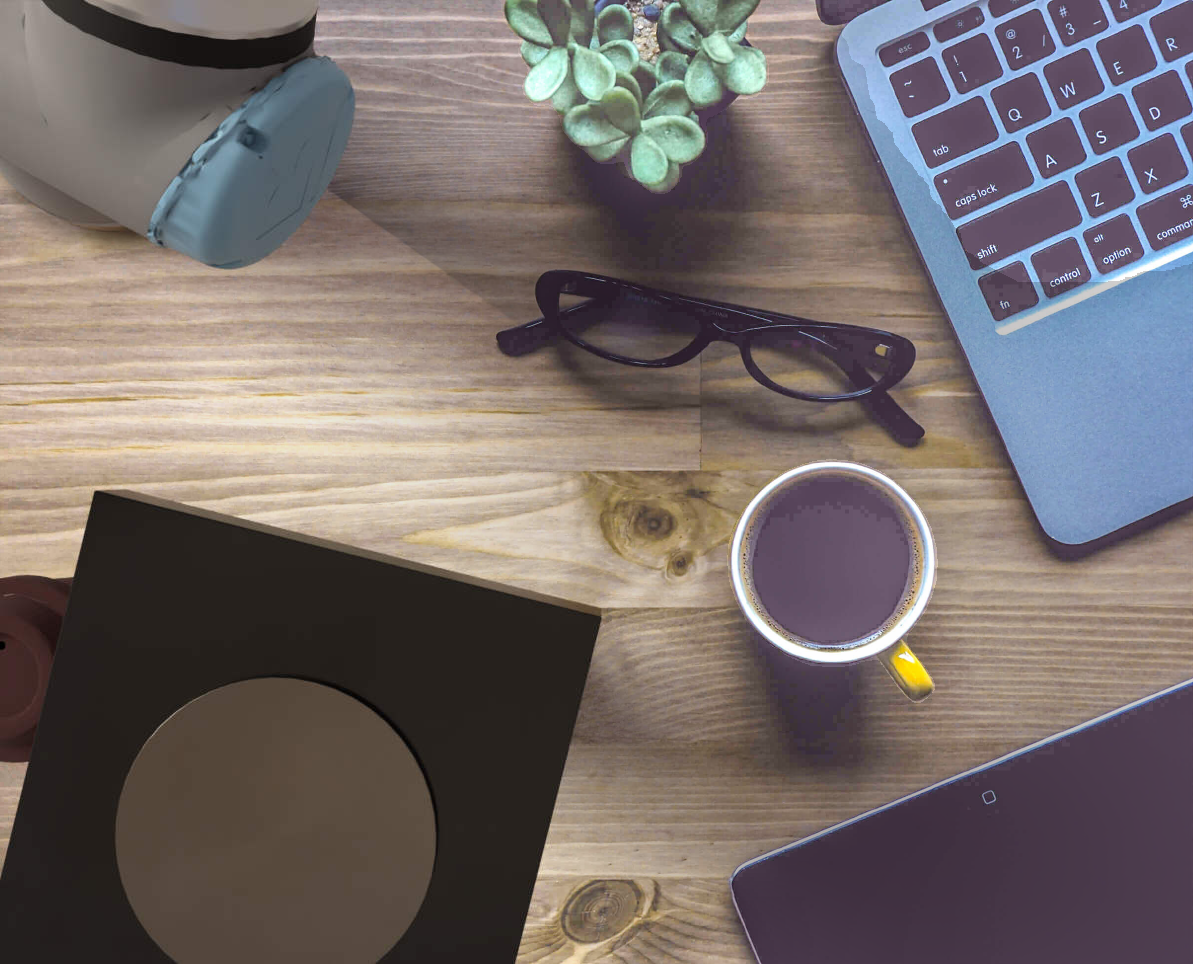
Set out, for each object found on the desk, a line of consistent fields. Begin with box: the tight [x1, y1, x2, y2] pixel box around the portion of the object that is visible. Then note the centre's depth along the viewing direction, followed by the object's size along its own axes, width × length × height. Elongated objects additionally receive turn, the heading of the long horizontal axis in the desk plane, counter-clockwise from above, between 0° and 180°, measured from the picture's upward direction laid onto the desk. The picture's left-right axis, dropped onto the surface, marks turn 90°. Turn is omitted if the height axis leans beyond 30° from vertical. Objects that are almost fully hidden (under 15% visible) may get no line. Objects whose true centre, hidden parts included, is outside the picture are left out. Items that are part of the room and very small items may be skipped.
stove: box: [0, 488, 603, 964], centre depth 31 cm, size 20×18×4 cm
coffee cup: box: [0, 574, 74, 764], centre depth 53 cm, size 10×10×15 cm
